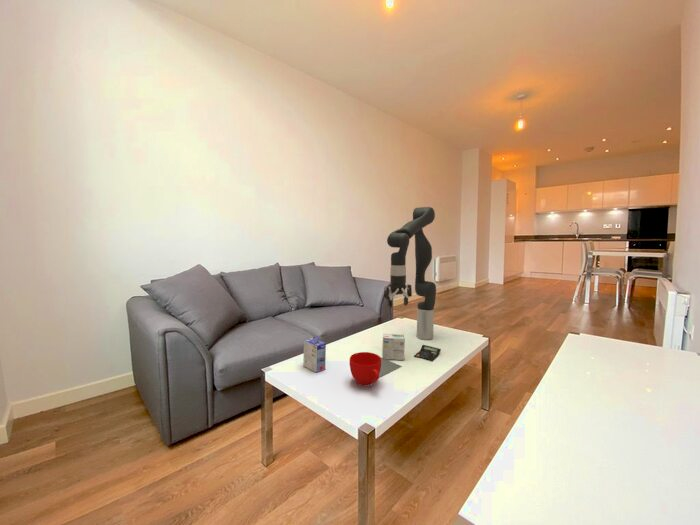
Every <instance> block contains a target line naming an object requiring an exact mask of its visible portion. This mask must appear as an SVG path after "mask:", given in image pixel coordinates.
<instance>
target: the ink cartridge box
mask: <svg viewBox="0 0 700 525" xmlns="http://www.w3.org/2000/svg"><path fill="white" fill-rule="evenodd" d="M320 338H321V337H320V336H319V335H317V334H314V335H313V337H311V338H308V339H305V340H303V367H305V368H307V369H308V370H311V371H313V372H314V373H319V372H322V371H325V370H326V357H327V356H326V355H327V354H326V350H327V349H326V346H327V343H326V342H324V341H321V340H320Z"/></svg>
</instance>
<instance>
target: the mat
mask: <svg viewBox="0 0 700 525" xmlns="http://www.w3.org/2000/svg"><path fill="white" fill-rule="evenodd" d="M349 365H350V362H349ZM401 367H403V366H402V365H400V364H398V363H395V362H393V361H391V360H389V359H382V357H381V369H380V373H379V379H380V378H382V377H384V376H385V375H388V374H390V373H392V372H393V371H396V370H398V369H401Z"/></svg>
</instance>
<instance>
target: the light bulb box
mask: <svg viewBox="0 0 700 525" xmlns="http://www.w3.org/2000/svg"><path fill="white" fill-rule="evenodd" d="M405 338H406V337H405V334H402V333H401V334H399V333H382V354H381V356H382V357H381V358H382V359H386V360H399V361H404V360H405V347H406V339H405Z"/></svg>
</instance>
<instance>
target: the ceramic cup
mask: <svg viewBox="0 0 700 525" xmlns="http://www.w3.org/2000/svg"><path fill="white" fill-rule="evenodd" d="M381 358H382V357H381V356H380V355H378V354H376V353H374V352H370V351H369V352H368V351H360V352H355V353H353V354H351V355H350V357H349V363H350V364H349V369H350V373H351V376H352V378H353V379H354V380H355V382H356V383H357V384H358V385H360V386H363V387H367V386H371V385H373V383H375V382H378V380H379V379H380V378H379V373H380V369H381Z"/></svg>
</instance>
